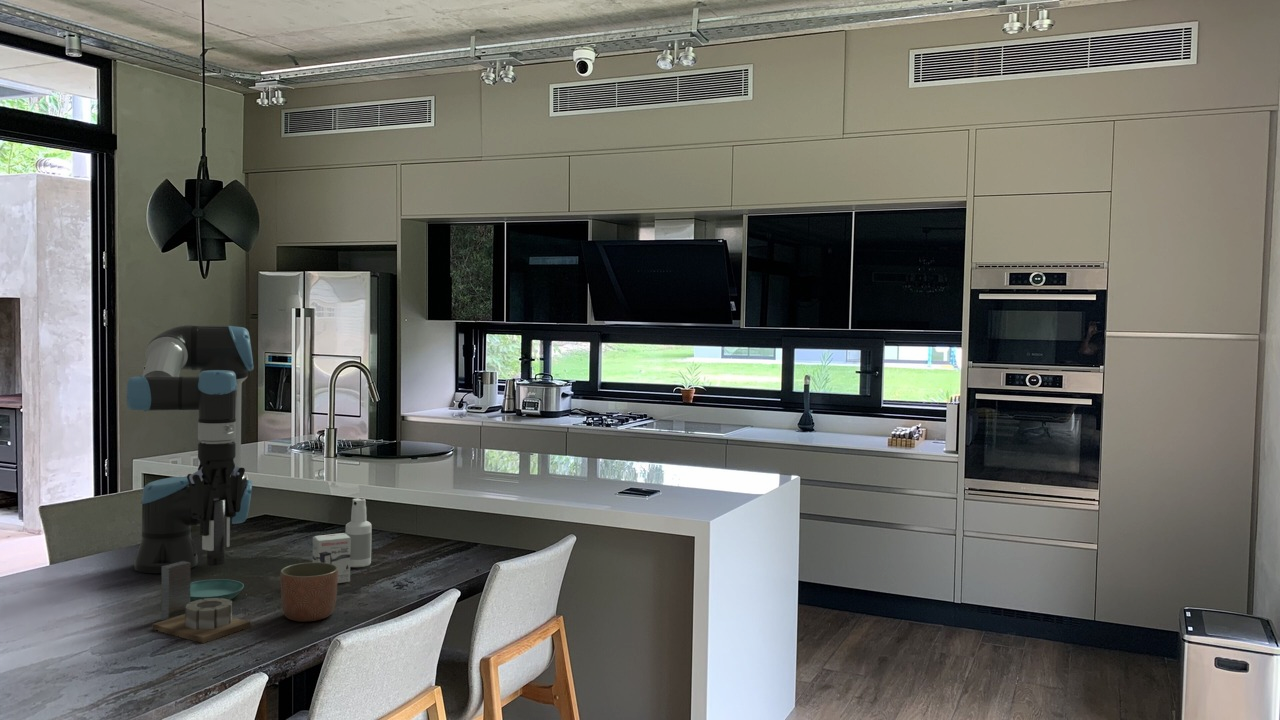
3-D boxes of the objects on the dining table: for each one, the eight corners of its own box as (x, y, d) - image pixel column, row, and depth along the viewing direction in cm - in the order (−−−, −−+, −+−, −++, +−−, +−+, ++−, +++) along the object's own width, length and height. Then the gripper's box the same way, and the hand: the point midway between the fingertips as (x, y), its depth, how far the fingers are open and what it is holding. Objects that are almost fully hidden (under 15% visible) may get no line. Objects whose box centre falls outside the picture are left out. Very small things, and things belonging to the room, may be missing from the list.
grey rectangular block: (168, 621, 212) (168, 567, 211) (161, 619, 213) (161, 566, 212) (190, 614, 217) (190, 562, 216) (183, 613, 218) (183, 560, 217)
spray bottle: (339, 565, 261) (340, 500, 260) (356, 560, 267) (357, 496, 267) (360, 568, 259) (361, 502, 258) (376, 563, 265) (377, 498, 264)
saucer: (211, 611, 221) (211, 599, 221) (162, 602, 226) (162, 591, 226) (257, 594, 234) (257, 583, 234) (210, 586, 240) (210, 575, 239)
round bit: (203, 564, 209) (203, 500, 209) (217, 560, 212) (217, 497, 212) (214, 566, 208) (215, 502, 207) (228, 562, 211) (229, 499, 210)
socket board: (152, 629, 206) (152, 605, 206) (200, 614, 217) (200, 592, 217) (203, 643, 199) (203, 618, 199) (250, 627, 210) (250, 603, 210)
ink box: (316, 586, 242) (317, 540, 241) (311, 581, 246) (312, 535, 245) (350, 582, 246) (351, 536, 246) (345, 577, 251) (345, 532, 250)
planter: (304, 629, 210) (305, 580, 209) (268, 618, 216) (268, 570, 216) (348, 614, 220) (349, 568, 220) (312, 604, 227) (313, 559, 226)
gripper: (196, 446, 200) (195, 558, 201) (259, 438, 215) (258, 542, 216) (171, 443, 203) (171, 553, 204) (235, 436, 218) (234, 538, 219)
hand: (215, 547), depth 210 cm, fingers closed on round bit, 3 cm apart
